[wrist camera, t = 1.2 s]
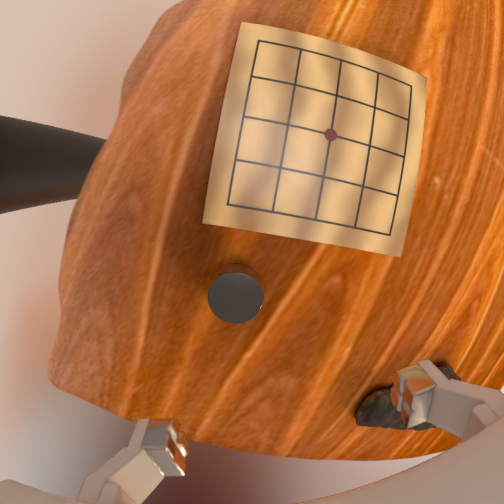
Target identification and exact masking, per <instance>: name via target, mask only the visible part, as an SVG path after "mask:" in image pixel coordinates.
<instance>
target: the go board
mask: <svg viewBox="0 0 504 504" xmlns="http://www.w3.org/2000/svg"><path fill="white" fill-rule="evenodd" d="M426 83H427V78H426V77H424V76H422V75H420V74H418V73H416V72H414V71H411V70H409V69H407V68H405V67H402V66H400V65H398V64H395V63H393V62H391V61H388V60H386V59H383V58H381V57H378V56H375V55H373V54H370V53H367V52H364V51H362V50H359V49H356V48H353V47H350V46H347V45H343V44H340V43H337V42H334V41H330V40H327V39H323V38H319V37H316V36H312V35H308V34H304V33H300V32H295V31H291V30H286V29H281V28H276V27H271V26H265V25H259V24H253V23H246V22H241V25H240V29H239V34H238V38H237V42H236V46H235V50H234V55H233V59H232V63H231V68H230V72H229V77H228V82H227V86H226V91H225V96H224V101H223V105H222V110H221V116H220V121H219V126H218V131H217V136H216V142H215V147H214V153H213V158H212V164H211V170H210V176H209V182H208V188H207V194H206V200H205V207H204V213H203V220H202V223H204V224H211V225H217V226H223V227H230V228H236V229H242V230H248V231H254V232H260V233H266V234H272V235H278V236H284V237H290V238H296V239H302V240H308V241H313V242H319V243H325V244H330V245H336V246H342V247H347V248H353V249H358V250H364V251H369V252H374V253H380V254H385V255H390V256H396V257H401V253H402V249H403V245H404V241H405V237H406V233H407V228H408V224H409V219H410V214H411V209H412V204H413V199H414V193H415V188H416V182H417V175H418V169H419V162H420V155H421V147H422V138H423V128H424V117H425V103H426Z"/></svg>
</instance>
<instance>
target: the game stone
mask: <svg viewBox="0 0 504 504" xmlns="http://www.w3.org/2000/svg"><path fill="white" fill-rule="evenodd" d="M263 299H264V298H263V290H262V286H261V282H260V279H259V277H258V275H257V273H256V272H255V271H254V270H253V269H252V268H250V267H248V266H246V265H244V264H240V263H232V264H227V265H225V266H223V267H221V268H220V269H218V270H217V271H216V272H215V274H214V275H213V277H212V280H211V283H210V288H209V292H208V303H209V306H210V308H211V310H212V312H213V313H214V314H215V315H216V316H217V317H218V318H220V319H221V320H223V321H225V322H229V323H243V322H246V321H249V320H250V319H252V318H253V317H255V316H256V315H257V314H258V312H259V311H260V309H261V307H262V305H263Z"/></svg>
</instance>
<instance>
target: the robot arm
mask: <svg viewBox="0 0 504 504" xmlns="http://www.w3.org/2000/svg"><path fill="white" fill-rule="evenodd" d="M392 381H393V383H394V385H393V387H392V388H391V400H392V403H393V406H394V407H395V409H396V410H397V411H400V412H402V413H401V419H402V420H403V422H404V423H405V425H406V426H407V428H410V427H413V426H415V425H418V424H420V423H423V422H425V421H427V422H429V423H431V424H433V425H435V426H437V427H439V428H441V429H443V430H445V431H448V432H450V433H452V434H454V435H456V436H458V437H460V438H461V441H460V443H459V444H458V445H456V446H454V447H452V448H451V449H449V450H447V451H445V452H443V453H441V454H439V455H437V456H435V457H433V458H431V459H429V460H427V461H425V462H423V463H421V464H418V465H416V466H414V467H411V468H409V469H407V470H405V471H402V472H400V473H397V474H395V475H392V476H390V477H387V478H384V479H382V480H379V481H377V482H373V483H371V484H368V485H364V486H361V487H358V488H355V489H352V490H348V491H345V492H342V493H338V494H334V495H331V496H327V497H323V498H319V499H314V500H309V501H305V502H300V503H295V504H504V394H503V393H502V392H501V391H500V390H496V389H491V388H487V387H483V386H479V385H475V384H471V383H467V382H463V381H459V380H455V379H450V380H448V379H447V377H446V376H445V375H444V374H443V373H442V372H441V371H440V370H439V369H438V368H437V367H436V366H435V365H434V364H433V363H432V362H431V361H430V360H429V359H425V360H422V361H420V362H418V363H416V364H413V365H410V366H408V367H405V368H403V369H400V370H397V371H395V372H393V374H392ZM188 449H189V448H188V440H187V437H186V435H185V433H184V432H183V431H181V430H180V423H179V421H178V420H177V419H176V418H158V419H139V420H138V421H137V423H136V425H135V428H134V431H133V434H132V437H131V440H130V442H129V445H128V448H123V449H122V450H121V451H120V452H118V453H117V454H116V455H115V456H113V457H112V458H111V459H109V460H108V461H107V462H106V463H104V464H103V465H101V466H100V467H99V468H98V469H96V470H95V471H93V472H92V473H91V474H89V475H88V476H87V477H86V478H85V479H84V482H83V484H82V486H81V489H80V491H79V494H78V496H77V499H76V500H75V499H71V498H66V497H63V496H59V495H56V494H52V493H48V492H45V491H42V490H39V489H36V488H32V487H30V486H27V485H24V484H22V483H19V482H16V481H13V480H4V481H1V482H0V504H141V503H142V502H143V501H144V500H145V499H146V498H147V496H148V495H149V494H150V493H151V492H152V491H153V490H154V489H155V487H156V486H157V485H158V484H159V483H160V482H161V480H162V479H163V478H164V476H185V471H186V464H187V463H186V461H185V459H184V457H185V456H186V455H187V454H188Z"/></svg>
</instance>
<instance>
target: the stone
mask: <svg viewBox="0 0 504 504" xmlns="http://www.w3.org/2000/svg"><path fill="white" fill-rule="evenodd" d="M437 368H438V369H439V370H440V371H441V372H442V373H443V374H444V375H445V376H446V377H447V379H448V380H450V379H455V380H459V381H460V380H461V379H460V377H459V376H457V375H456V374H455V372H454V371H453V368H452V367H451V366H449V365H444V366H442V367H437ZM401 413H402V412H400V411H397V410H396V409H395V407H394V406H393V403H392V400H391V388H390V389H384V388H383V389H381V390H378V391H375V392H373V393H372V394H370V395H369V396H368V397H367V398H366V399H365V400H364V402H363V403H362V404H361V405H360V407H359V409H358V410H357V412H356V414H355V419H356V423H357V425H359V426H367V427H383V428H392V429H400V430H406V429H414V430H418V431H420V430H427V429H429V428H435V427H437V426H435V425H433V424H431V423H429V422H427V421H425V422H423V423H420V424H418V425H415V426H413V427H410V428H407V426H406V425H405V423H404V422H403V420H402V419H401Z"/></svg>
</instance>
